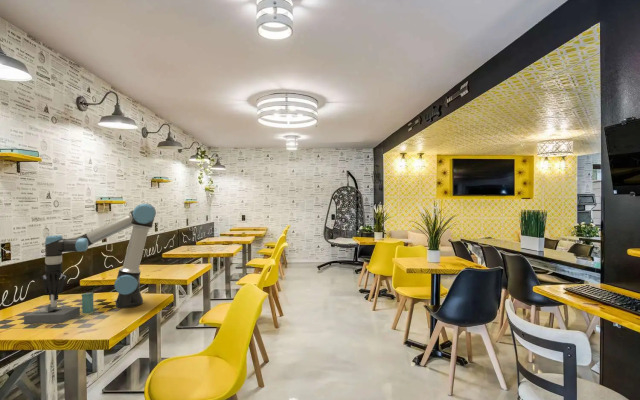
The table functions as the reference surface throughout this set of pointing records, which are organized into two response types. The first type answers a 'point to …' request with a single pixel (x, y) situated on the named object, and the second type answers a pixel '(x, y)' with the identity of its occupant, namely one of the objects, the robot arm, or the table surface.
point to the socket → (52, 316)
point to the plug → (87, 302)
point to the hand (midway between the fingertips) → (53, 306)
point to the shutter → (45, 309)
